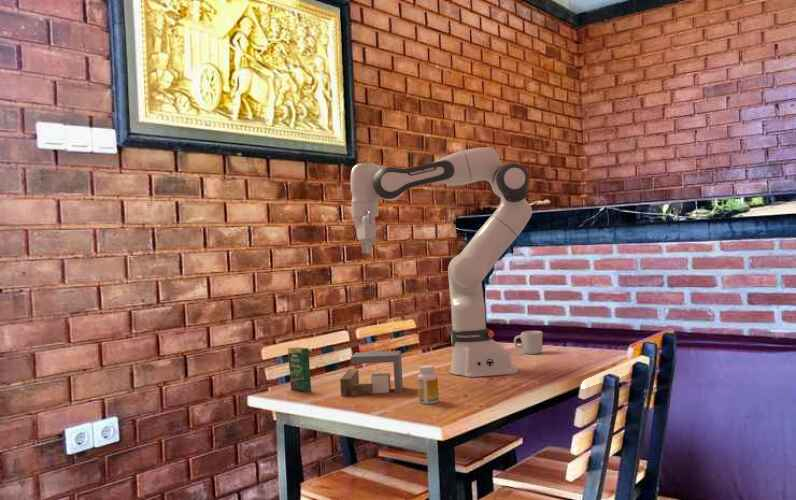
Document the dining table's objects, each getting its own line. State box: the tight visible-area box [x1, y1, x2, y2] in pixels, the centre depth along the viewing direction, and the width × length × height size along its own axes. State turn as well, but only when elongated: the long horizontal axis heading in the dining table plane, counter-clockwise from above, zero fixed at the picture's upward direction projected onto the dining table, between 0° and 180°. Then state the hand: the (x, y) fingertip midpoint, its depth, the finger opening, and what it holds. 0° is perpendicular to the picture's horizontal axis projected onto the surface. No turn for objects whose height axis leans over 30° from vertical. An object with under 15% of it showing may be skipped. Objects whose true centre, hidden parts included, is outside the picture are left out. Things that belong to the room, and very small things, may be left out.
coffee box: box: [287, 346, 312, 393], centre depth 201 cm, size 8×3×13 cm, turn 42°
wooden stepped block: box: [339, 368, 374, 397], centre depth 196 cm, size 9×16×5 cm, turn 175°
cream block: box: [370, 372, 392, 394], centre depth 193 cm, size 5×5×5 cm
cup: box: [513, 330, 544, 355], centre depth 244 cm, size 11×8×8 cm
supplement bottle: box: [417, 364, 440, 405], centre depth 176 cm, size 5×5×10 cm
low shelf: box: [350, 350, 404, 394], centre depth 193 cm, size 14×8×11 cm, turn 84°
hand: (367, 253), depth 214 cm, fingers open, 8 cm apart
